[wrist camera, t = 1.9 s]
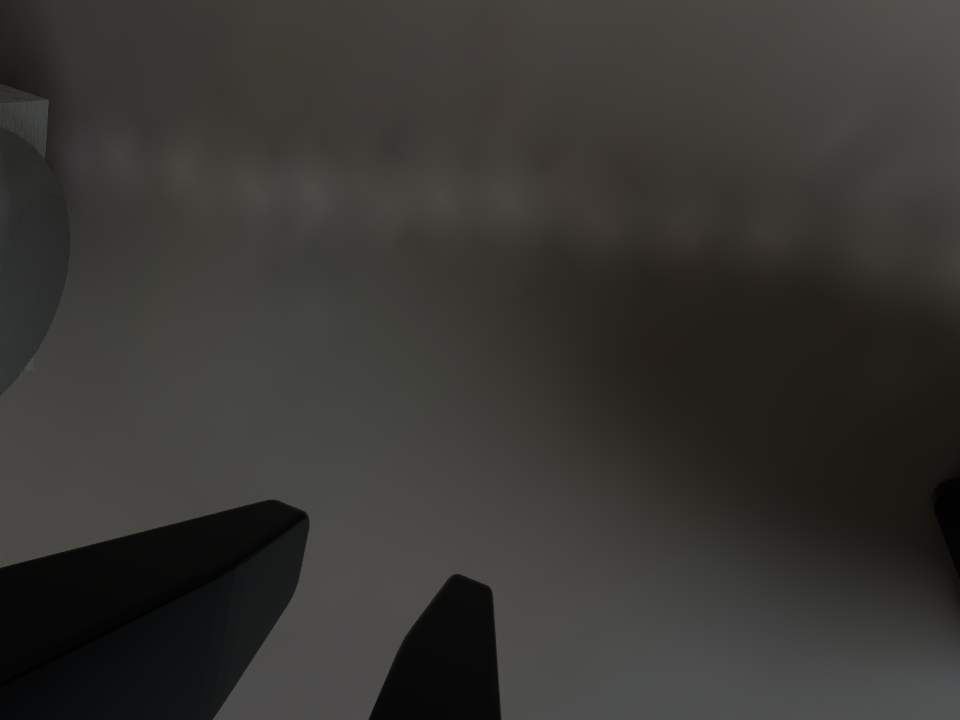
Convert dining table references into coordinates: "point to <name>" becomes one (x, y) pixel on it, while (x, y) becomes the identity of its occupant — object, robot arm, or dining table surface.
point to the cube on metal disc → (28, 233)
